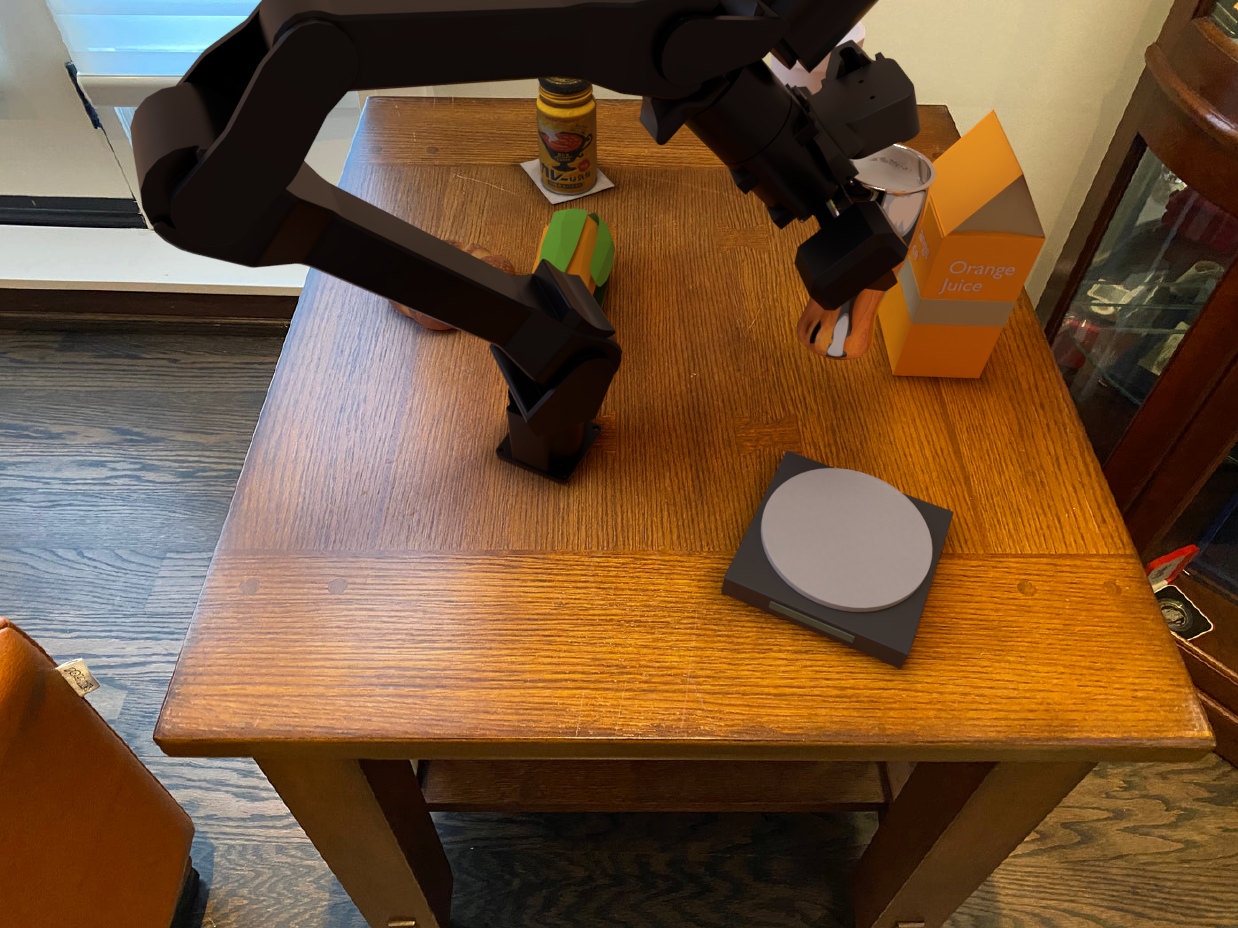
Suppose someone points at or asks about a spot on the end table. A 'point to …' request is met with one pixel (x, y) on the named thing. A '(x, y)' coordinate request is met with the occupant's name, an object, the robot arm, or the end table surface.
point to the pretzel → (475, 251)
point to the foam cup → (814, 78)
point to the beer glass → (849, 330)
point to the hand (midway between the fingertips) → (874, 255)
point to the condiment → (566, 141)
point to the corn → (579, 248)
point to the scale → (841, 556)
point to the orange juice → (963, 260)
